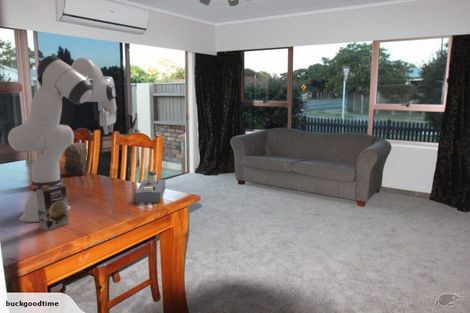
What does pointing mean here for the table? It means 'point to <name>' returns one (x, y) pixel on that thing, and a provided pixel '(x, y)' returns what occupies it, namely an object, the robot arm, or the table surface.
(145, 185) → the socket block
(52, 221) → the coffee box
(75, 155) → the owl
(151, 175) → the plug
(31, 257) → the table surface
